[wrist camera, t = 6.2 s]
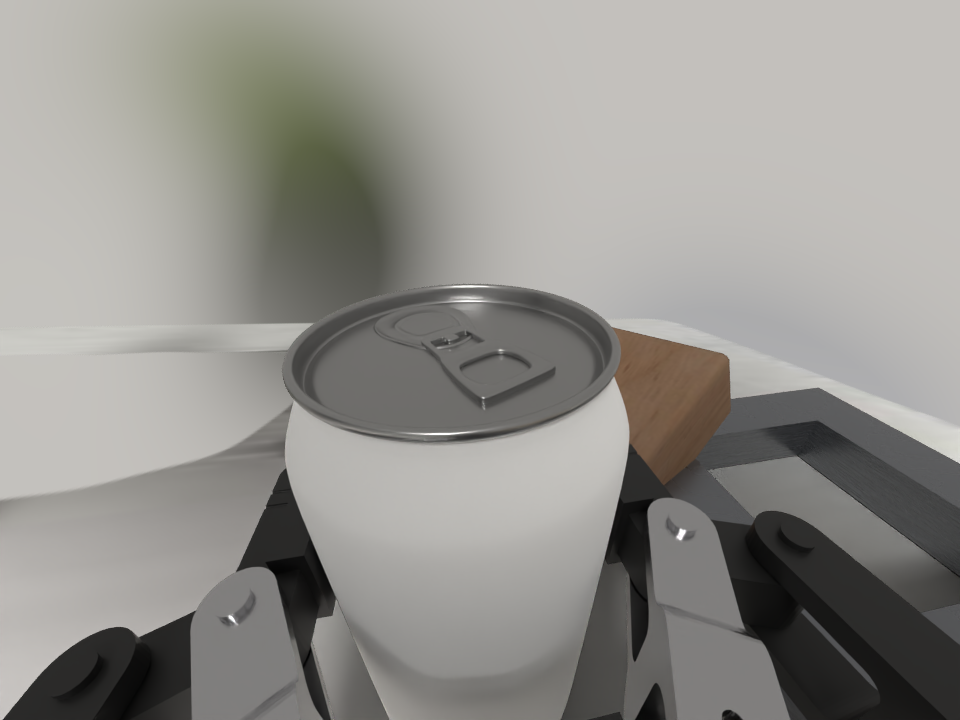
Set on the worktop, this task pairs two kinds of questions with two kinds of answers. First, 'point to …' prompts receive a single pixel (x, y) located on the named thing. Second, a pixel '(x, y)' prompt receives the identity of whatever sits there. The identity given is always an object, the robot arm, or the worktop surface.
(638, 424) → the wooden blocks
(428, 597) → the can
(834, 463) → the gray square frame plate
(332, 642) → the worktop surface
